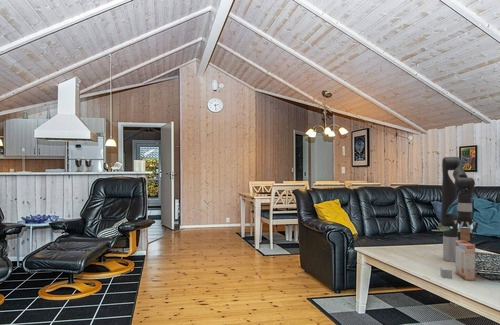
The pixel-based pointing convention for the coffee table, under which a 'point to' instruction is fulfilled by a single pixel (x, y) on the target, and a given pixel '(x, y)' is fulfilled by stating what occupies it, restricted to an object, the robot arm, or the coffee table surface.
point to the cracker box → (465, 260)
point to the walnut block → (465, 234)
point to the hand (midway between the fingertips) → (464, 238)
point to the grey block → (446, 273)
